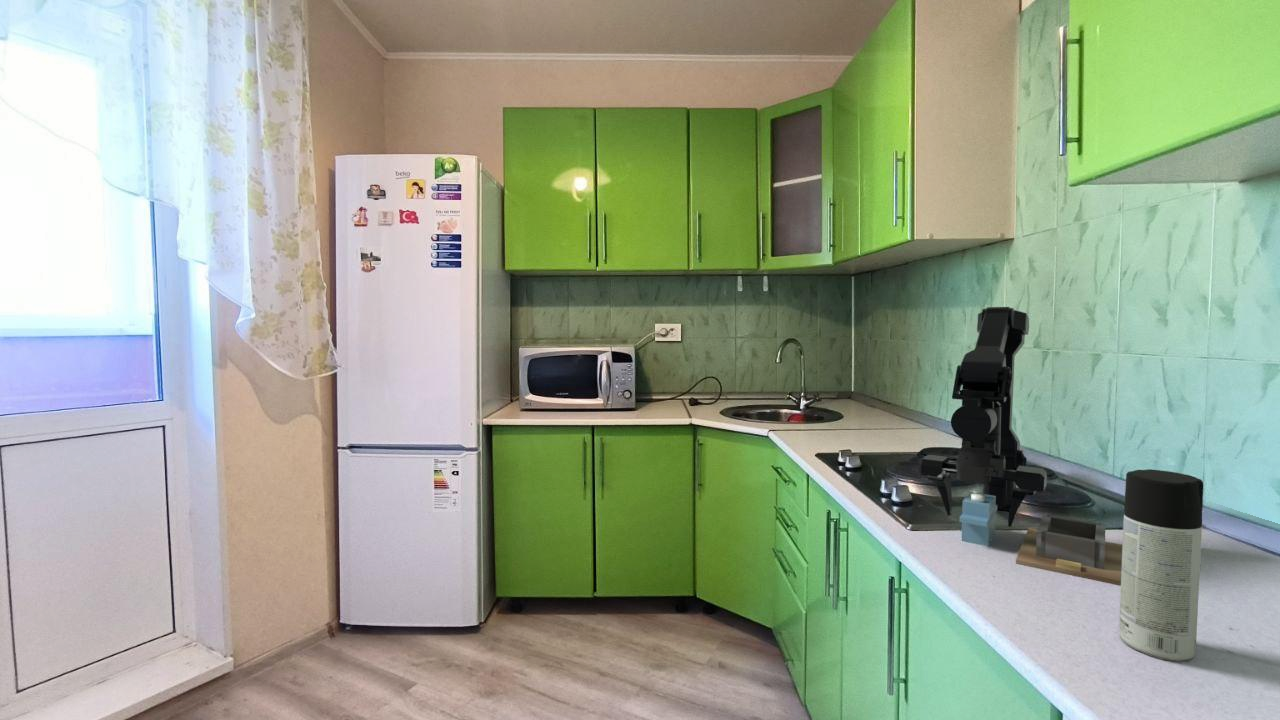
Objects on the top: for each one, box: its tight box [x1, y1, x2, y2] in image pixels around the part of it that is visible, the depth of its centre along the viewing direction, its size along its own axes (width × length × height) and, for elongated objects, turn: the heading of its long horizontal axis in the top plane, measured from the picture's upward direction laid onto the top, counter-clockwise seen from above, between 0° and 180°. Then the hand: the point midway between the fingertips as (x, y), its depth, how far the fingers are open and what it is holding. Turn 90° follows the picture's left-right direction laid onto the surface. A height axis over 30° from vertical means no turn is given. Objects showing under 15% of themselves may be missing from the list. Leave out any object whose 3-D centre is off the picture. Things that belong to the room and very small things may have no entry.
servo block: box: [959, 491, 998, 547], centre depth 102 cm, size 12×4×8 cm, turn 141°
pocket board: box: [1015, 513, 1123, 586], centre depth 93 cm, size 18×13×4 cm
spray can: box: [1118, 468, 1204, 662], centre depth 66 cm, size 7×7×20 cm
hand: (978, 520), depth 102 cm, fingers open, 9 cm apart
